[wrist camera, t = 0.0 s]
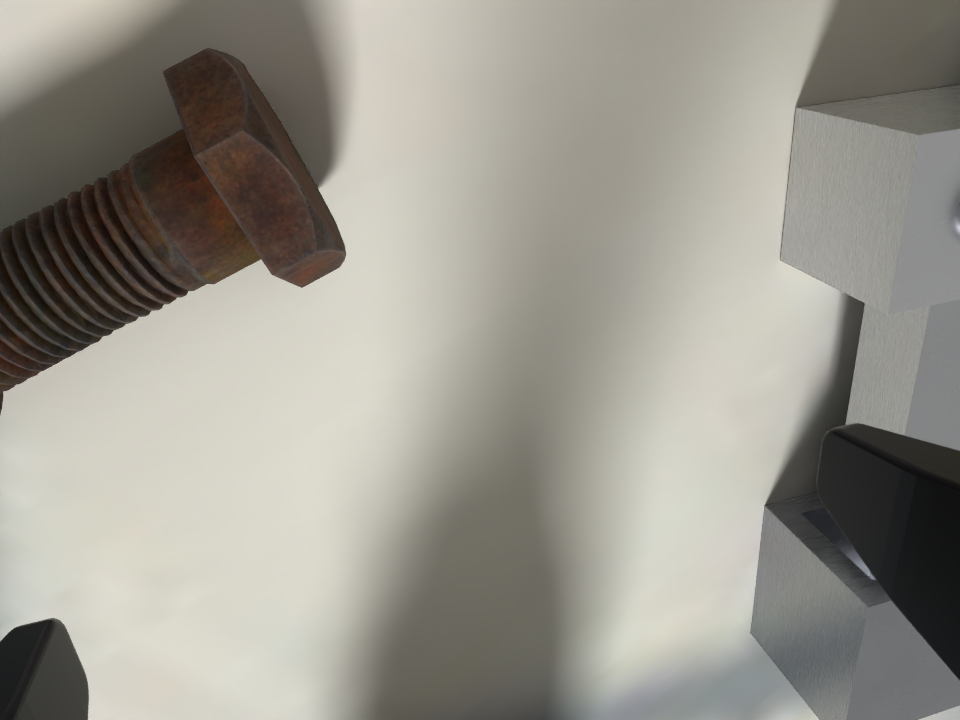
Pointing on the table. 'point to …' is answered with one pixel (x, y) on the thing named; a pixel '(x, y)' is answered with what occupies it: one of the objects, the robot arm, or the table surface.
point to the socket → (839, 624)
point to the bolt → (164, 224)
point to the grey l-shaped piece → (887, 247)
